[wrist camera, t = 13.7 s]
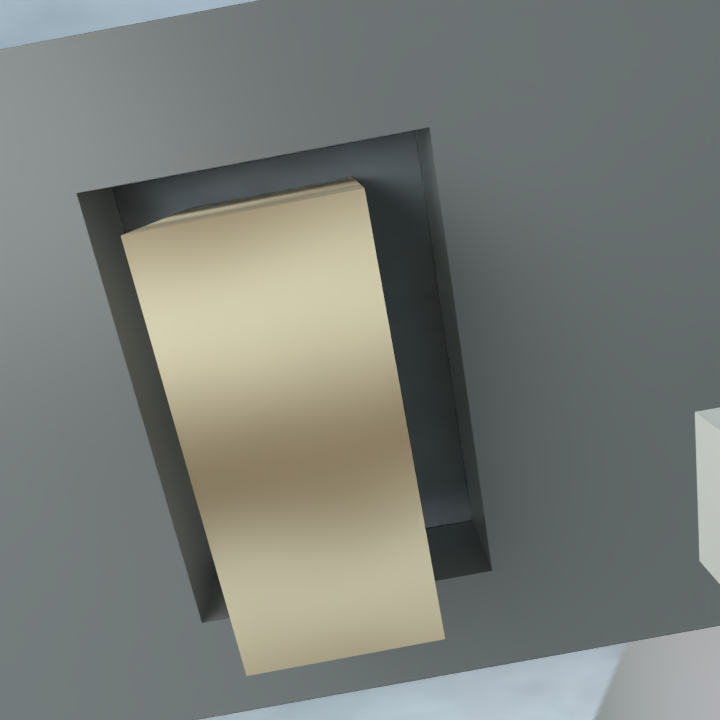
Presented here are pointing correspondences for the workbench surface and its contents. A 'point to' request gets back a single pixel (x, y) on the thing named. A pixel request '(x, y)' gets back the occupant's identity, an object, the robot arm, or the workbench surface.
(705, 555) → the robot arm
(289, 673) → the mount plate
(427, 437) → the workbench surface
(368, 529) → the key block
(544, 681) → the workbench surface
